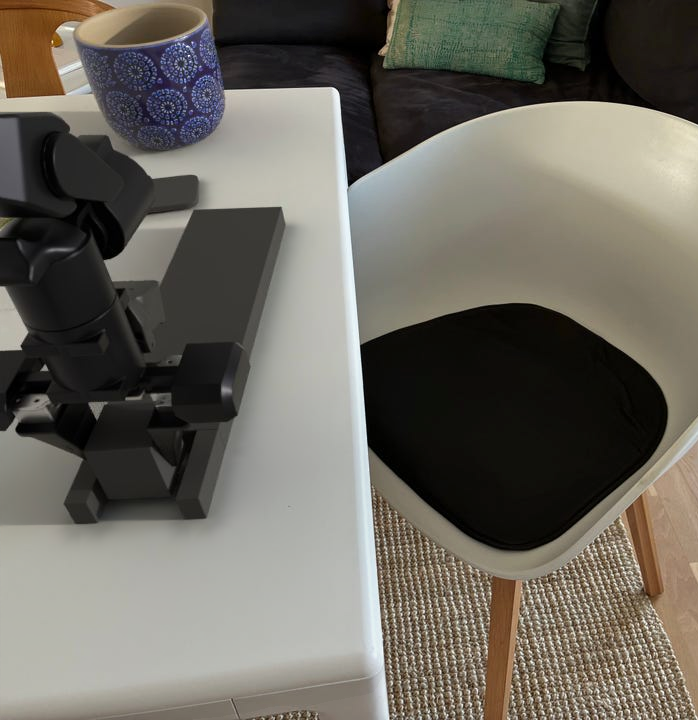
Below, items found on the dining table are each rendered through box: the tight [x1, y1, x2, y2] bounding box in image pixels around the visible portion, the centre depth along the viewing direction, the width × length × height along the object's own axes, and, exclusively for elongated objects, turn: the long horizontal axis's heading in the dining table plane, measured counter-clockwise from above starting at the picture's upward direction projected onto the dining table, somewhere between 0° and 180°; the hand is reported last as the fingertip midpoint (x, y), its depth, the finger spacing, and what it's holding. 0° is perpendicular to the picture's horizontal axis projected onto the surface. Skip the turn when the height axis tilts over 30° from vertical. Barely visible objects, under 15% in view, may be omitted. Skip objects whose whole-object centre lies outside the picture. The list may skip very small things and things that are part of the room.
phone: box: [147, 174, 200, 214], centre depth 94 cm, size 7×1×15 cm
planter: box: [72, 2, 226, 151], centre depth 103 cm, size 17×17×15 cm
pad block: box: [83, 402, 187, 500], centre depth 59 cm, size 5×5×6 cm
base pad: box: [63, 206, 287, 525], centre depth 74 cm, size 42×10×2 cm, turn 2°
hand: (143, 463), depth 60 cm, fingers closed on pad block, 5 cm apart
